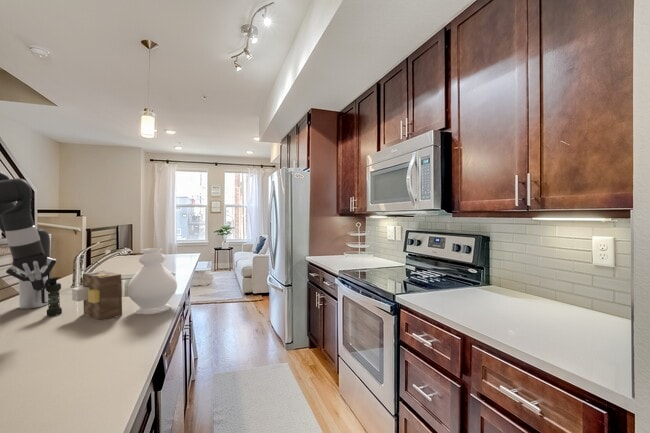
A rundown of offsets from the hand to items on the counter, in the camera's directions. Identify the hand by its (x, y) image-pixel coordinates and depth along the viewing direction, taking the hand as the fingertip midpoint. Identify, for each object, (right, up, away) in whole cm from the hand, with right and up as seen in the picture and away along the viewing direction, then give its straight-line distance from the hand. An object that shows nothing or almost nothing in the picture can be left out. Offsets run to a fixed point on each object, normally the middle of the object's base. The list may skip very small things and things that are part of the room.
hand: (40, 289), depth 105 cm
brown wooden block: (+9, -14, +17) cm, 24 cm away
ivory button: (+3, -7, +15) cm, 17 cm away
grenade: (-12, -14, +17) cm, 25 cm away
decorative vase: (+26, -14, +23) cm, 37 cm away
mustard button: (+11, -7, +13) cm, 18 cm away
